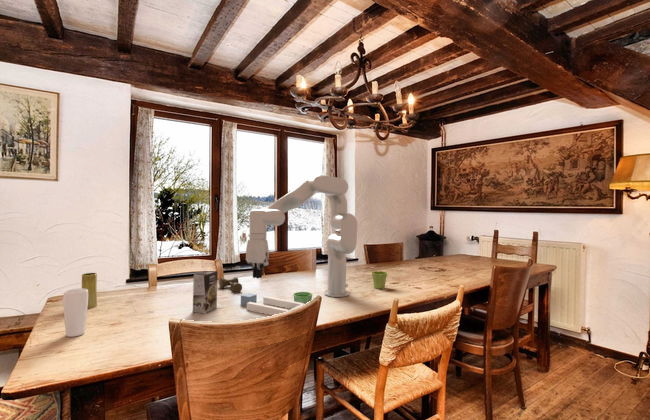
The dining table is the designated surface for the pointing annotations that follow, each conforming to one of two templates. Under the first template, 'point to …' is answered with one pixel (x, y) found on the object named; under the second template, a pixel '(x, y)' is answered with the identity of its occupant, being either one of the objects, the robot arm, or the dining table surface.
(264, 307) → the channel
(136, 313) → the dining table surface
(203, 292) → the coffee box
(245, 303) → the block
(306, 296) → the ramekin
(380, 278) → the plant pot
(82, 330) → the drinking glass
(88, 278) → the vase
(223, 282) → the kendama
